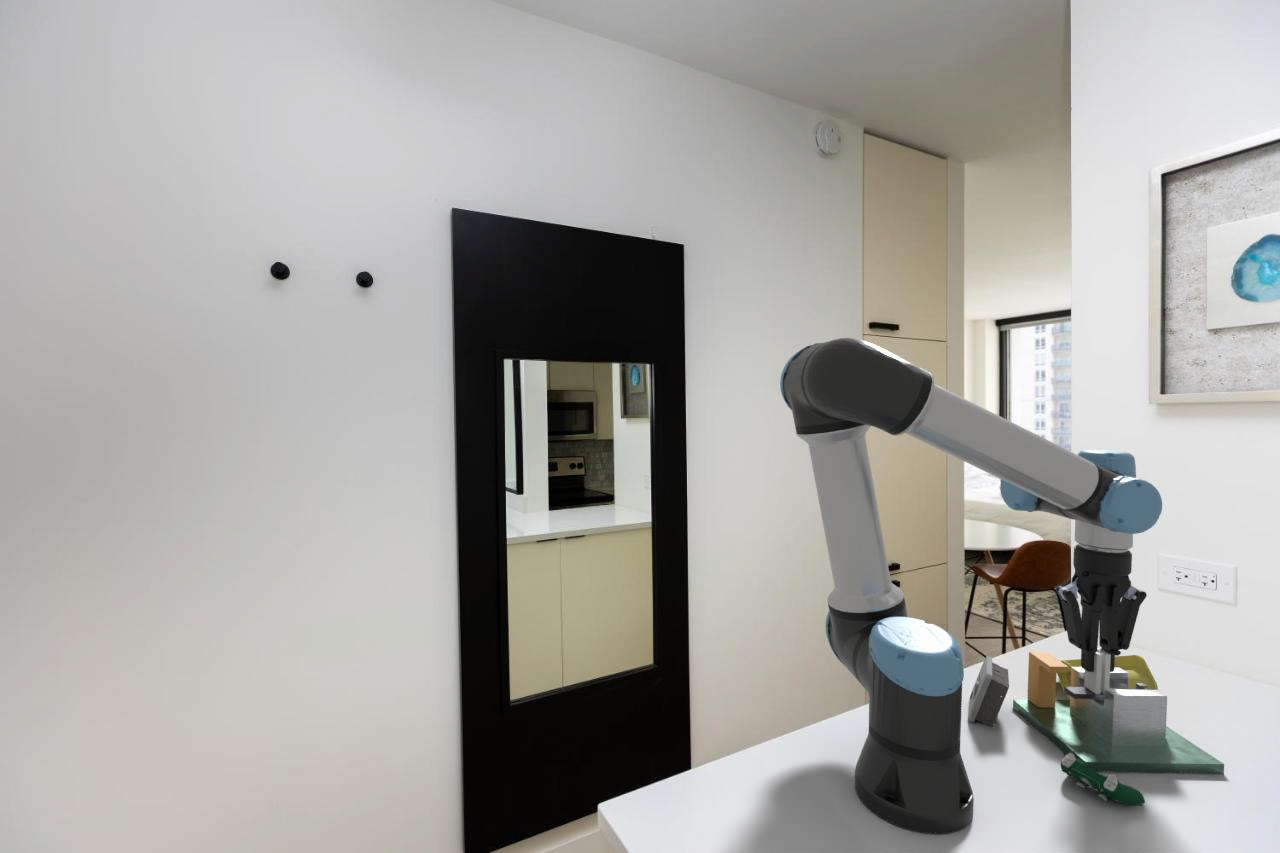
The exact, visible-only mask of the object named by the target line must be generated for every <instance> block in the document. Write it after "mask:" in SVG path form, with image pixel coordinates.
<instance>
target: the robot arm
mask: <svg viewBox="0 0 1280 853" xmlns="http://www.w3.org/2000/svg"><path fill="white" fill-rule="evenodd" d="M779 381H780V382H779V385H780V386H779V388H780V393H781V396H782V399H783V401H784V402H785V404H786V406H787V407H788V408H789V409H790V411H792V418H793V423H794V428H795V432H796V436H797V437H799V439H801V440H802V441H804V442H805V443H807V445H808V450H809V455H810V461H811V465H812V466H811V467H812V470H813V471H812V472H813V477H814V481H815V482H814V483H815V488H816V493H817V494H816V495H817V497H818V499H817V500H818V505H819V509H820V514H821V519H822V525H823V530H824V536H825V541H826V542H825V543H826V545H827V553H828V557H829V562H830V563H829V564H830V569H831V574H832V579H833V585H834V589H833V590H832V591H831V592H830V593H829V594H828V596H827V606H828V612H827V614H826V618H825V624H824V625H825V626H824V627H825V635H826V636H825V637H826V639H827V641H828V644H829V646H830V649H831V651H832V652H833V654H834V655H835V657H836V659H837V660H838V661H840V663H842V665H843V666H844V667H846V669H847V670H848V671H849V672H850V673H851V675H852V676H854V678H855V679H856V680H857V682H859V683H860V685H861V686H862V687H863V688H864V690H865V691H866V692H867V694H868V734H867V737H866V738H865V741H864V744H863V746H862V749H861V752H860V754H859V757H858V759H857V762H856V765H855V769H854V791H855V793H856V796H857V797H858V799H859V800H860V802H861V803H862V804H863V805H864V806H865V807H866V808H867V809H869V811H871V812H872V813H874V815H876V816H877V817H879V818H881V819H883V820H885V821H886V822H889V823H891V824H892V825H894V826H898V827H900V828H903V829H906V830H909V831H914V832H918V833H924V834H933V835H935V834H937V835H938V834H941V835H942V834H949V833H955V832H958V831H960V830H962V829H964V828H966V827H967V826H968V825H969V824H970V823H971V821H972V820H973V816H974V804H975V803H974V802H975V801H974V800H975V798H974V792H973V790H972V789H973V788H972V786H971V783H970V779H969V776H968V774H967V770H966V767H965V764H964V760H963V758H962V754H961V733H962V730H961V728H962V701H963V700H962V698H963V697H962V696H963V681H964V678H965V676H964V675H965V674H964V673H965V671H964V670H965V669H964V664H963V654H962V653H963V652H962V649H961V647H960V645H959V642H958V641H957V640H956V639H955V637H954V636H953V635H952V634H951V633H950V632H948V631H947V630H945V629H944V628H942V627H940V626H939V625H936V624H935V623H927V622H926V621H925V620H923V619H919V618H915V617H909V616H908V611H907V604H906V600H905V594H904V592H903V590H902V589H901V588H899V587H898V586H897V585H896V584H894V583H893V582H892V581H891V575H890V569H889V563H888V557H887V553H886V546H885V540H884V536H883V529H882V523H881V518H880V515H879V514H880V513H879V507H878V502H877V497H876V491H875V490H876V489H875V486H874V484H875V483H874V479H873V475H872V468H871V463H870V458H869V452H868V447H867V440H866V433H867V432H868V430H869V429H870V428H871V427H874V428H876V429H878V430H882V431H884V432H886V433H887V434H888V435H889V434H890V435H892V436H895V437H896V436H900V435H904V434H906V435H909V436H911V437H913V438H915V439H917V440H919V441H922V442H923V443H925V444H927V445H930V446H932V447H934V448H936V449H937V450H940V451H942V452H944V453H945V454H948V455H950V456H952V457H954V458H957V459H958V460H960V461H963V462H965V463H967V464H969V465H971V466H972V467H975V468H978V469H980V470H981V471H984V472H985V473H987V474H989V475H991V476H994V477H995V478H998V479H1000V484H999V486H1000V487H999V490H1000V491H999V492H1000V494H1001V498H1002V499H1003V502H1004V503H1005V505H1006V506H1008V508H1010V509H1012V510H1014V511H1020V512H1028V513H1033V512H1043V513H1049V514H1051V515H1052V514H1053V515H1056V516H1058V517H1062V518H1066V519H1069V520H1074V521H1075V522H1074V541H1075V543H1076V544H1075V545H1074V546H1073V561H1072V562H1073V563H1072V564H1073V568H1074V573H1073V576H1072V577H1071V582H1070V583H1069V584H1067V585H1065V586H1061V585H1059V586H1057V587H1056V588H1055V592H1056V593H1057V596H1058V597H1059V598H1060V600H1061V604H1062V610H1063V616H1064V617H1063V618H1064V622H1065V627H1066V633H1067V634H1066V635H1067V638H1068V642H1069V644H1071V645H1073V646H1075V647H1077V648H1078V649H1080V650H1081V652H1080V653H1081V654H1080V659H1081V667H1082V668H1083V669H1084V670H1085V680H1084V686H1085V687H1086V688H1088V689H1089V690H1091V691H1092V692H1093V693H1095V694H1100V693H1101V692H1102V693H1103V694H1105V689H1109V683H1110V672H1113V671H1114V665H1115V657H1116V656H1121V653H1122V651H1120V650H1125V651H1127V650H1129V648H1130V645H1131V641H1132V638H1133V634H1134V630H1135V626H1136V623H1137V618H1138V615H1139V612H1140V606H1141V605H1142V604H1143V603H1144V601H1145V599H1146V598H1147V596H1148V595H1147V592H1146V591H1145V590H1141V589H1139V588H1137V587H1135V586H1133V585H1132V582H1131V581H1132V580H1131V579H1130V577H1129V575H1131V573H1132V567H1133V565H1132V562H1133V552H1131V550H1130V549H1132V548H1133V547H1134V535H1136V534H1137V535H1138V534H1141V533H1145V532H1146V531H1148V530H1150V529H1151V528H1152V527H1154V525H1155V524H1157V523H1158V520H1159V519H1160V516H1161V515H1162V512H1163V511H1162V510H1163V501H1162V500H1163V499H1162V495H1161V494H1160V491H1159V490H1158V489H1157V487H1155V485H1154V484H1152V483H1151V482H1149V481H1147V480H1145V479H1140V478H1137V469H1136V458H1135V456H1134V455H1133V454H1131V453H1129V452H1127V451H1121V450H1110V449H1083V450H1081V451H1079V452H1078V454H1077V453H1074V452H1073V451H1070V450H1068V449H1067V448H1065V447H1063V446H1060V445H1058V444H1055V443H1054V442H1052V441H1050V440H1048V439H1046V438H1045V437H1042V436H1040V435H1038V434H1036V433H1034V432H1032V431H1030V430H1029V429H1026V428H1024V427H1022V426H1020V425H1018V424H1016V423H1015V422H1012V421H1011V420H1009V419H1007V418H1004V417H1003V416H1000V415H999V414H996V413H994V412H992V411H990V410H989V409H987V408H984V407H982V406H980V405H978V404H976V403H974V402H973V401H970V400H968V399H965V398H964V397H962V396H960V395H958V394H957V393H954V392H952V391H950V390H947V389H946V388H945V387H941V386H940V385H937V384H936V383H935V379H934V376H933V374H932V373H931V372H929V371H928V370H926V369H924V368H922V367H919V366H917V365H915V364H913V363H912V362H909V361H907V360H906V359H904V358H902V357H900V356H899V355H897V354H894V353H893V352H890V351H888V350H887V349H885V348H883V347H881V346H878V345H876V344H874V343H871V342H869V341H865V340H863V339H859V338H852V337H842V338H836V339H833V340H829V341H824V342H820V343H819V342H817V343H813V344H810V345H807V346H805V347H804V348H802V349H799V350H798V351H797V352H796V353H795V354H793V355H792V356H791V357H790V358H789V359H788V360H787V362H786V363H785V365H784V367H783V369H782V371H781V376H780V380H779ZM1078 594H1079V595H1078ZM1079 596H1080V603H1079V602H1078V600H1077V599H1079ZM1080 606H1081V607H1082V608H1081V609H1080ZM1098 642H1099V644H1098ZM1098 645H1099V647H1098ZM1100 647H1101V648H1100Z"/></svg>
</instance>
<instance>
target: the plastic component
mask: <svg viewBox="0 0 1280 853" xmlns="http://www.w3.org/2000/svg"><path fill="white" fill-rule="evenodd" d="M1059 661H1060V662H1062V663H1063V664H1065V665H1066V666H1068V673H1065V672H1056V675H1057V677H1058V680H1059V683H1060V686H1061V690H1062V693H1064V694H1065V693H1066V692H1064V686H1065V687H1071V667H1081V658H1079V659H1067V660H1066V659H1065V660H1059ZM1114 667H1119V668H1121V669H1123V670H1124V671H1126V672H1128V688H1130V689H1136V683H1144V684H1145V685H1147V689H1148V690H1158V691H1159V686H1158V684H1157V682H1156V679H1155V678H1154V675H1153V674H1152V672H1151V669H1150V668H1149V665H1148V664H1147V662H1146V659H1145V658H1144V657H1143V656H1141V655H1138V654H1134V655H1133V654H1131V655H1118V656H1116V655H1115V665H1114ZM1066 694H1067V693H1066Z"/></svg>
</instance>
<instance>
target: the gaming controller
mask: <svg viewBox="0 0 1280 853" xmlns="http://www.w3.org/2000/svg"><path fill="white" fill-rule="evenodd" d="M1059 764H1060V768H1061V772H1063V773H1064V774H1066V775H1067V776H1069V777H1070V778H1074V779H1075V781H1076V786H1078V787H1081V788H1082V789H1085V788H1089V787H1090V788H1092V789H1094V790H1095V791H1097V793H1098V794H1097V795H1098V797H1099V799H1101V800H1104V801H1105V802H1106V801H1108V800H1109V801H1110V800H1112V801H1116V802H1118V803H1121V804H1124V805H1129V806H1139V805H1143V804H1145V803H1146V802H1145V798H1144V794H1143V793H1142V792H1140V790H1138V789H1136V788H1134V787H1133V786H1130V785H1127V784H1124V783H1121V782H1120V781H1119V779H1117V776H1116V775H1115V774H1113V773H1112V774H1109V775H1108V776H1105V775H1102V773H1100V772H1095V771H1094V770H1092V769H1090V768H1088V767H1086V766H1085V765H1084V763H1083V762H1082V761H1080V760H1078V759H1077V758H1075V756H1074V754H1072V753H1069V754H1067V755H1066V754H1065V756H1064V757H1063V758H1062V759H1061V761H1060V763H1059Z"/></svg>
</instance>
